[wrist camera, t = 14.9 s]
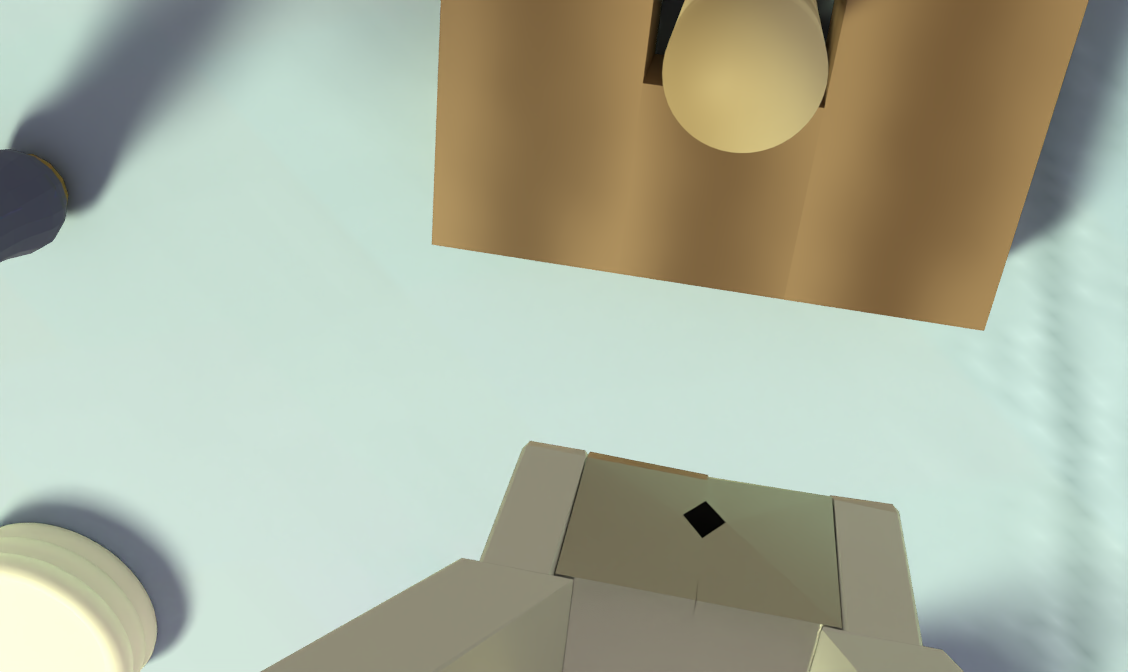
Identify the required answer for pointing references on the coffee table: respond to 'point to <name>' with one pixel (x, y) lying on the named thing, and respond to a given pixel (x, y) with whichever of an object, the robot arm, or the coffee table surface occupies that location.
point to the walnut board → (759, 179)
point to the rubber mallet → (29, 203)
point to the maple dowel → (745, 71)
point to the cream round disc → (69, 605)
